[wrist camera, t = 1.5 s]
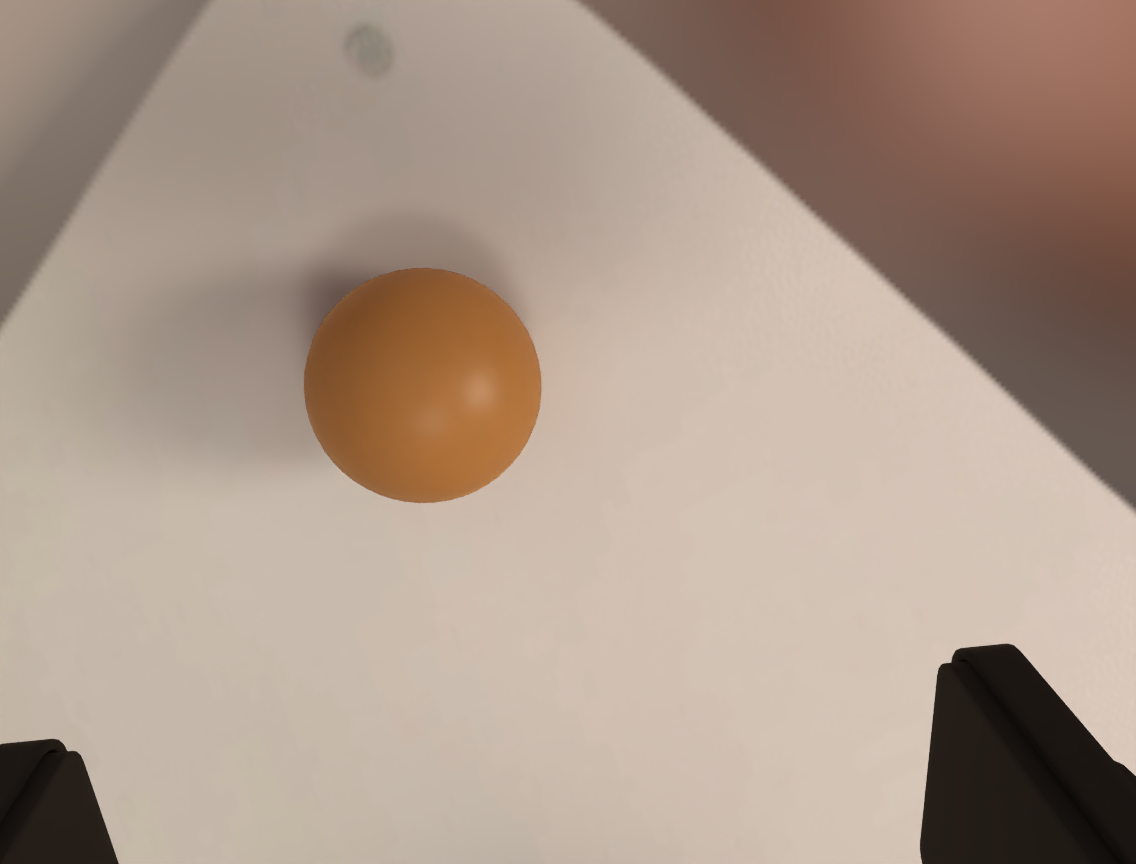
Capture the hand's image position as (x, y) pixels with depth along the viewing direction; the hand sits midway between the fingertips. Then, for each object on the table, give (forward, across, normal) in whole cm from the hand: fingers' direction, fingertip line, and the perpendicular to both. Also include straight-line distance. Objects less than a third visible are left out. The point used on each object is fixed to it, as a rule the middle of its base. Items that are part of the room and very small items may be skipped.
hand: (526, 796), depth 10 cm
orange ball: (+16, +2, 0) cm, 16 cm away
